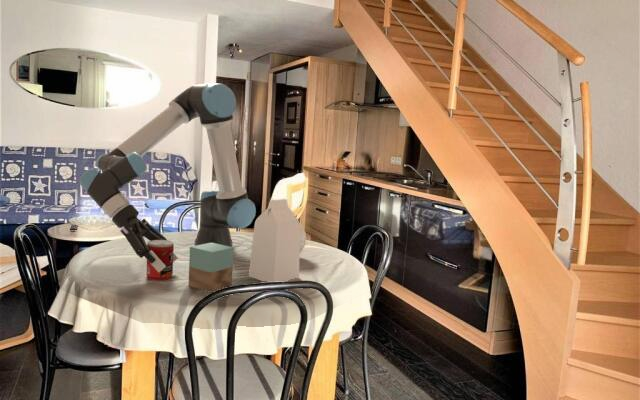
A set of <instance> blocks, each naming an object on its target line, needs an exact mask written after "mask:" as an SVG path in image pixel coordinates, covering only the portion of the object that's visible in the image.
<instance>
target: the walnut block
mask: <svg viewBox="0 0 640 400" xmlns="http://www.w3.org/2000/svg"><path fill="white" fill-rule="evenodd" d="M232 282H233V267H230V268H227V269H223V270H219V271H215V272H212V273H211V272H207V271H204V270H200V269H196V268H193V267H189V266H188V283H187V284H188V287H192V288H195V289H199V290H201V289H203V290H202V291H204V290H207V291H206V292H208V291H213V290H216V291H218V290H217V289H219V290H221V289H220V288H222V289H224V288H223V287H226V288H228V287H227V286H229V287H231V286H232V285H233V283H232ZM213 292H214V291H213Z"/></svg>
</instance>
